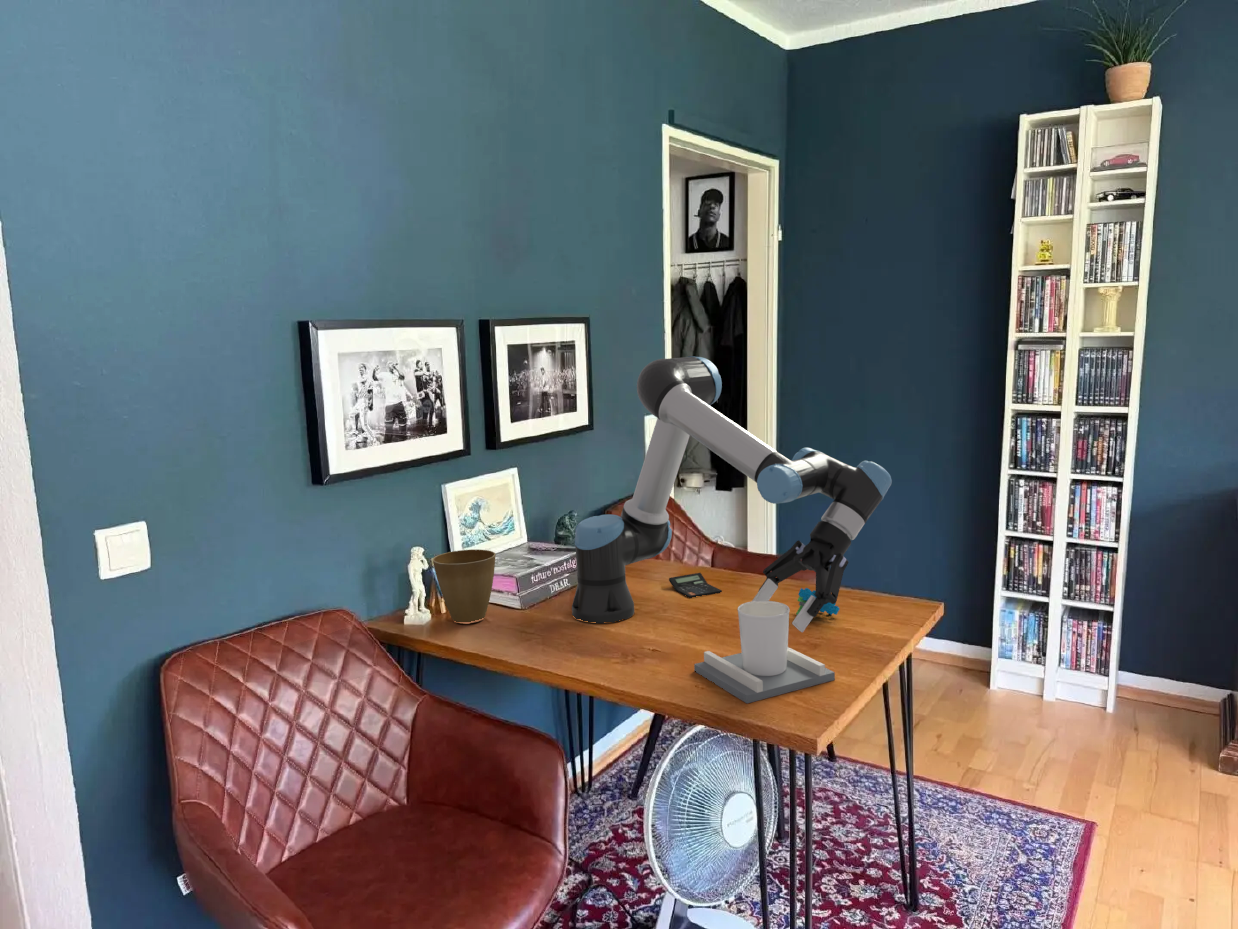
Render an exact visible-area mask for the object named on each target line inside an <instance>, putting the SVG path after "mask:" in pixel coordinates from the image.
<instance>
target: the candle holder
mask: <svg viewBox="0 0 1238 929" xmlns="http://www.w3.org/2000/svg"><path fill="white" fill-rule="evenodd" d="M790 610H791V609H790V607H789V606H788V605H787V604H785V603H783V602H778V601H774V600H773V601H772V600H769V601H752V600H751V601H747V602H744V603H741V604H740V605H739V606H738V607H737V614H738V625H739V626H738V627H739V637H740V649H741V653H742V661H743V668H744V670H745V671H746V672H748V673H750V674H753V675H758V676H774V675H778V674H781V673H783V672H784V671H785V670H786V668H787V653H788V647H789V628H790V627H789V626H790V625H789V624H790V623H789V622H790V620H789V619H790Z"/></svg>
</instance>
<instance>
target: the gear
mask: <svg viewBox="0 0 1238 929" xmlns="http://www.w3.org/2000/svg"><path fill="white" fill-rule="evenodd" d="M815 592H816V589H815V590H811V589H810V588H808V587H805V588H802V587H801V588H800V589H799V591H798V593H797V594H798V598H797V599H796V600H797V602H799V603H798V605H799V607H798V609H797V612H796V613H795V614H796V616H797V615H798V614H799V612H800V611H801V609H802V608H803V606H804V605H805V603H806V602H807V601H808V599H809V598H810V596H811V595H812V596H814V597H815V598H816V596H815V595H814V594H815ZM813 593H814V594H813ZM836 604H837V602H836V603H835V604H831V603H827V604H824V605H823V607H822V608H821V609H820V611H819V612H821V613H827V614H828V615H829V614H830V616H832V615H836V616H837V615H838V613H839V611H840V607H839V606H838V605H836Z"/></svg>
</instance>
